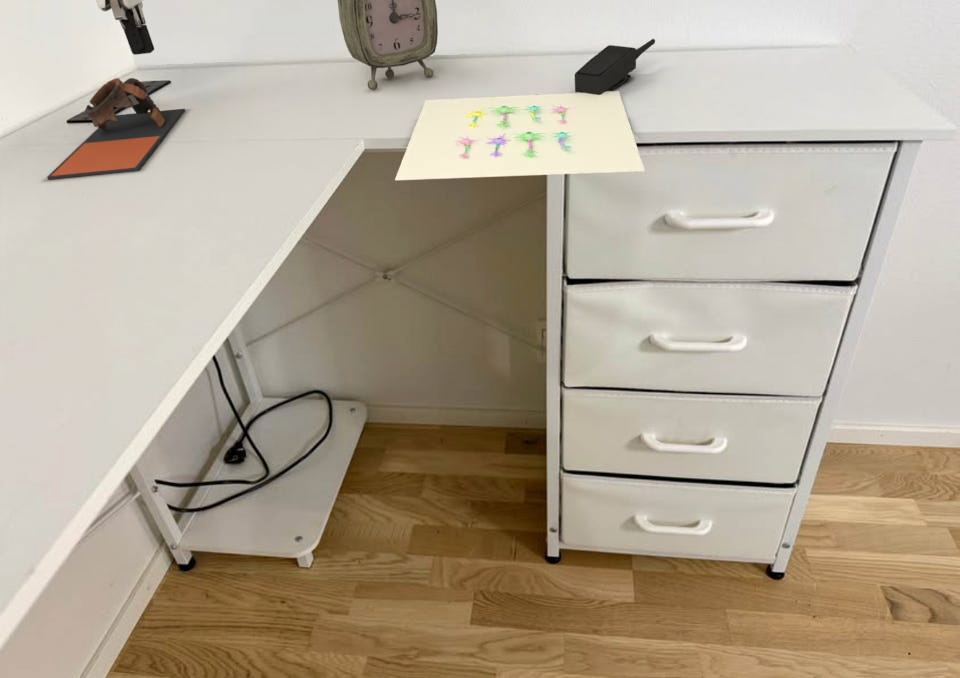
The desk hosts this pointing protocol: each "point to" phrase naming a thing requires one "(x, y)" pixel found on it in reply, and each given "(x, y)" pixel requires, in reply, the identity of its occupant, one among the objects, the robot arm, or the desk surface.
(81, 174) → the desk mat
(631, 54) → the walkie-talkie
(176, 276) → the desk surface
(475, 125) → the printed paper
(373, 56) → the tabletop clock
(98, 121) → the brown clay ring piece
